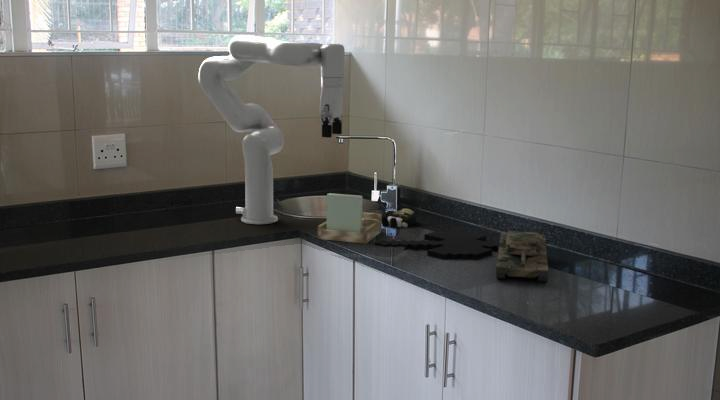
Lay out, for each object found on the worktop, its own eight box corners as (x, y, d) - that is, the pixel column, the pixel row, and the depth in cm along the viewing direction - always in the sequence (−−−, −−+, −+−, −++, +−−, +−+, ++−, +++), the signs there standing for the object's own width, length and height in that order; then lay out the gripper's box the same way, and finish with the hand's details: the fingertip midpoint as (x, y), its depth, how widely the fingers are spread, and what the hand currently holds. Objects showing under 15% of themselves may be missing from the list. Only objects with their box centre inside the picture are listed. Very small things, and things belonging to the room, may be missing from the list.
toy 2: (494, 291, 209) (496, 253, 207) (498, 254, 244) (500, 222, 242) (547, 295, 206) (550, 257, 204) (544, 257, 242) (546, 225, 240)
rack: (317, 241, 255) (317, 219, 254) (334, 230, 270) (334, 209, 269) (366, 246, 250) (366, 224, 249) (380, 234, 265) (381, 213, 264)
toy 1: (371, 215, 274) (394, 197, 285) (374, 235, 277) (397, 216, 288) (402, 221, 267) (425, 201, 278) (405, 241, 270) (427, 221, 281)
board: (326, 238, 256) (326, 194, 253) (328, 236, 257) (329, 193, 255) (359, 241, 252) (360, 197, 250) (361, 239, 254) (362, 195, 251)
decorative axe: (438, 225, 272) (515, 242, 252) (437, 232, 273) (515, 248, 253) (374, 242, 249) (454, 261, 229) (374, 249, 249) (453, 269, 230)
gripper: (330, 81, 272) (330, 132, 275) (312, 83, 256) (311, 137, 259) (351, 81, 270) (351, 133, 273) (334, 84, 254) (333, 139, 257)
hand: (331, 135), depth 266 cm, fingers open, 9 cm apart
